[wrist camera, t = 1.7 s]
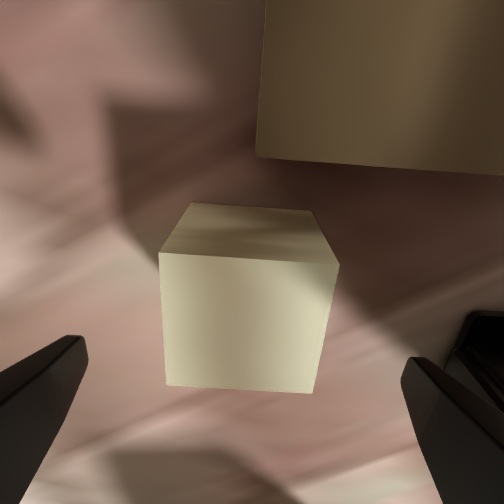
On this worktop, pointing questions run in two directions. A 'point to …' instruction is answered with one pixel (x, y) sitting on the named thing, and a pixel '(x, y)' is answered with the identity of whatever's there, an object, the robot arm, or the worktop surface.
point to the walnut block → (384, 84)
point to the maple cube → (245, 298)
